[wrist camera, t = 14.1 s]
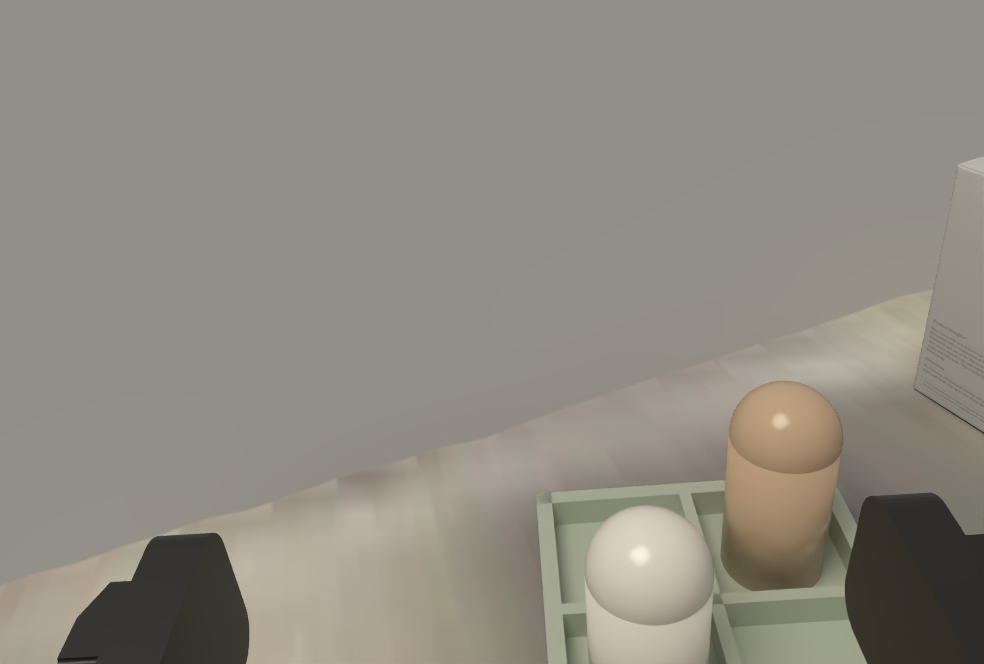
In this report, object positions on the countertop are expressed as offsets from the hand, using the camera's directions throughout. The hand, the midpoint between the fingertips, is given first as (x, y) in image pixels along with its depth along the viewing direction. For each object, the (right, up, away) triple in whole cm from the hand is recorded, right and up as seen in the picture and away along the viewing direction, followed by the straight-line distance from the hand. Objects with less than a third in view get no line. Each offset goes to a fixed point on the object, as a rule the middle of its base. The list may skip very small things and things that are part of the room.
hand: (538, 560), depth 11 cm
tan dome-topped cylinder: (+13, -8, +31) cm, 35 cm away
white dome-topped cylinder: (+6, -13, +25) cm, 29 cm away
